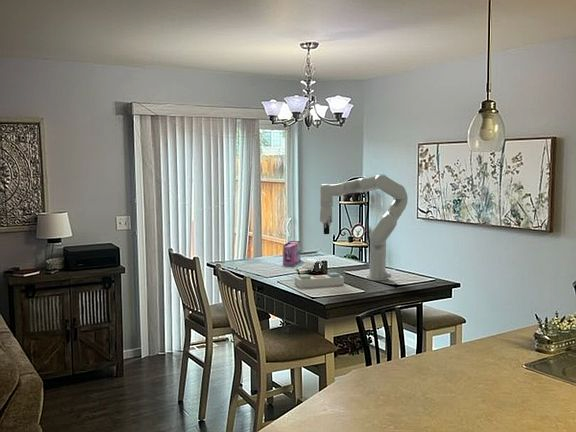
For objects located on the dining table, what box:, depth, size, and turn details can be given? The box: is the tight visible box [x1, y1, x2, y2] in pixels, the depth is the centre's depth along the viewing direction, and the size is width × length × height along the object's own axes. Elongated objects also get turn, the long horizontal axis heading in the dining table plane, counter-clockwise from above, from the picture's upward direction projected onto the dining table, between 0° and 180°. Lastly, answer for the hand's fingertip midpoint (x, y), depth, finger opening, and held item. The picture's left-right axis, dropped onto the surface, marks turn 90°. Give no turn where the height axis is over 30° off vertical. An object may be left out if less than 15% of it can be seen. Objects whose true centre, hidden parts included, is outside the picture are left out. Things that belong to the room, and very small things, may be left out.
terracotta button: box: [312, 274, 325, 278], centre depth 328 cm, size 5×5×3 cm
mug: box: [301, 258, 324, 272], centre depth 365 cm, size 12×10×8 cm
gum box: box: [282, 240, 301, 266], centre depth 400 cm, size 24×8×14 cm, turn 167°
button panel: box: [294, 274, 345, 289], centre depth 329 cm, size 27×9×4 cm, turn 107°
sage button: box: [298, 273, 312, 279], centre depth 326 cm, size 5×5×3 cm
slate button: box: [327, 272, 340, 277], centre depth 331 cm, size 5×5×3 cm
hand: (326, 233), depth 346 cm, fingers closed
